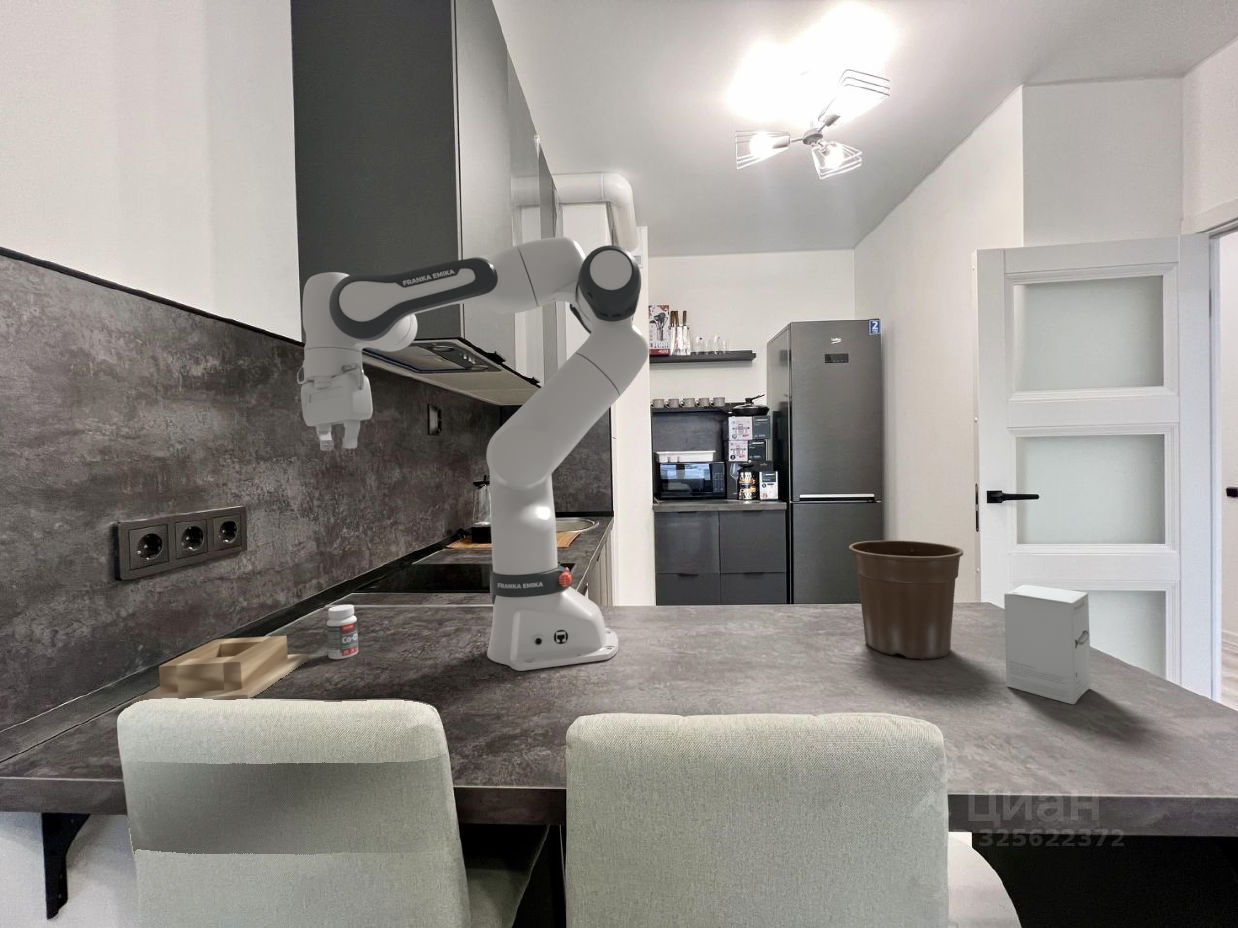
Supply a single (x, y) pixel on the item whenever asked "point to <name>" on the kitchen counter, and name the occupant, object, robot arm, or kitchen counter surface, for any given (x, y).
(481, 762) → the kitchen counter surface
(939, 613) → the plant pot
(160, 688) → the birch socket block
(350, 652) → the pill bottle
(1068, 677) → the supplement box
